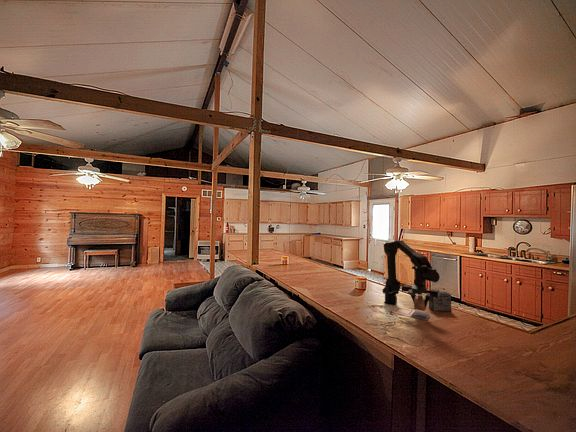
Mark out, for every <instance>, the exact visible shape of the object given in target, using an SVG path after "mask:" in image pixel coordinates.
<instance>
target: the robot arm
mask: <svg viewBox="0 0 576 432" xmlns="http://www.w3.org/2000/svg"><path fill="white" fill-rule="evenodd" d="M398 250H400V251H401V252H402V253H403V254H404V255H406V256H407V257H408V258H409V260H410V263H412V265H413V266H412V267H411V269H412V270H414V281H413V285H409V284H404V285H402V286H401V281H399V280H398V278H397V264H396V262H397V261H396V255H397V254H398ZM383 252H384V253H385V255H386V260H387V261H386V262H387V263H386V264H387V279H386V282H385V285H384V287H383V289H382V294H384V301H383V303H384V304H387V305H391V306H392V305H393V306H394V305H396V304H397V303H398V296H397V295H398V294H399V293H400V291H402V292H405V293H407V294H408V295H410V297H411V298H412V299H411V300H412V302H413V303H414V298H415V297H416V296H417V295H423V294H425V296H424V298H425V307H426V308H427V306H428V304H429V299H430V298H431V297H439V296H440V292H441V291H440V290H439V289H434V288H432V289H430V290H429V289H427V281H429V282H433V283H437V282H439V280H440V273H439V272H438V271H437V269H435V268H433V267H432V264H431V263H430V261H429V260H428V257H427V256H426V255H424V254H422V253H420V252H419V253H418V252H417V251H415V250H414V249H413V248H412V247H411V246H409V245H408V244H406V243H405V241H404V240H395V241H391V242H390V241H389V242H388V241H387V242H384V244H383ZM400 289H401V290H400Z"/></svg>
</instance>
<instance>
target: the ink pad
mask: <svg viewBox="0 0 576 432" xmlns="http://www.w3.org/2000/svg"><path fill="white" fill-rule="evenodd" d="M410 317H411V318H414V319H419V320H422V321H428V319H429V318H430V317H431V315H430V313H427V312H421V311H417V310H416V311H414V312H413V313H412V314H411V316H410Z"/></svg>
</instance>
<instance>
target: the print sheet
mask: <svg viewBox="0 0 576 432" xmlns="http://www.w3.org/2000/svg"><path fill="white" fill-rule="evenodd" d="M414 311H417V309H410V308H405V307H401V306H397V307H396V308H395V309H393V310H392V311H391V313H392V314H397V315H401V316H405V317H411V314H412V313H413V312H414Z"/></svg>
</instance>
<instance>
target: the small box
mask: <svg viewBox="0 0 576 432" xmlns="http://www.w3.org/2000/svg"><path fill="white" fill-rule="evenodd" d="M428 309H430V310H431V311H432V312H437V311H438V312H437V313H439V312H441V313H452V294H451V293H448V292H447V291H440V296H439V297H431V298H430V299H429V301H428Z"/></svg>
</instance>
